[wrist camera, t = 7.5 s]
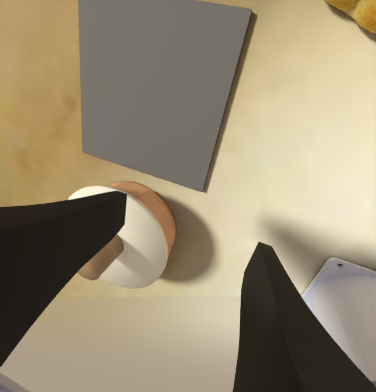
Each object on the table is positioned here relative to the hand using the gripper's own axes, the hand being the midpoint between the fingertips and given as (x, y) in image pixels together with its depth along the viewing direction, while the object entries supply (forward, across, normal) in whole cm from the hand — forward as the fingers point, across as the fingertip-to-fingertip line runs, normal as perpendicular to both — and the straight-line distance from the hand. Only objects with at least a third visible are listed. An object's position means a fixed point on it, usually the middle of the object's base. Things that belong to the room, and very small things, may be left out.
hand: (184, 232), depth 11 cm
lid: (+6, +8, +9) cm, 13 cm away
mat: (+10, +8, -5) cm, 14 cm away
